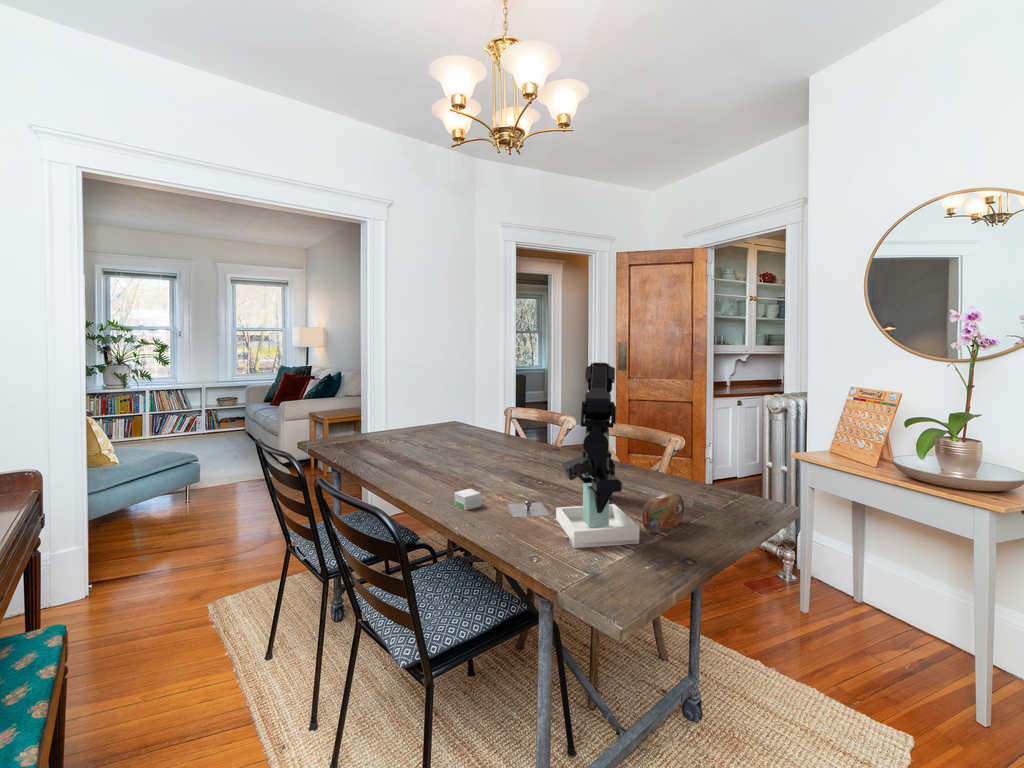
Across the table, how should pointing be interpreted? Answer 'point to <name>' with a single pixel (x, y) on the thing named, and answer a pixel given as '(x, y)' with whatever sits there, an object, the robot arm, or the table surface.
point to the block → (593, 509)
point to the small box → (468, 499)
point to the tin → (663, 512)
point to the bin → (597, 528)
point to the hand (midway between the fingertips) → (595, 509)
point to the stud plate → (527, 509)
